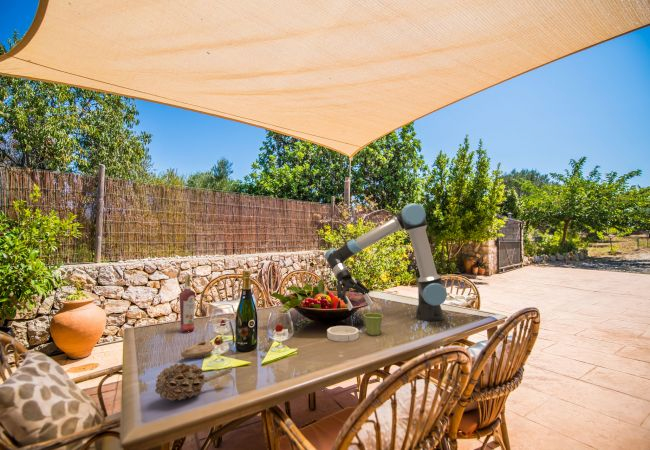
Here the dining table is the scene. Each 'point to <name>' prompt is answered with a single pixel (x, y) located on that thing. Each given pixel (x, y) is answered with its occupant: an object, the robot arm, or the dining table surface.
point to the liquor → (187, 307)
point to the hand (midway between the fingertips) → (361, 306)
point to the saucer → (342, 333)
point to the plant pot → (373, 323)
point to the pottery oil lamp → (198, 350)
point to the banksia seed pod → (183, 381)
